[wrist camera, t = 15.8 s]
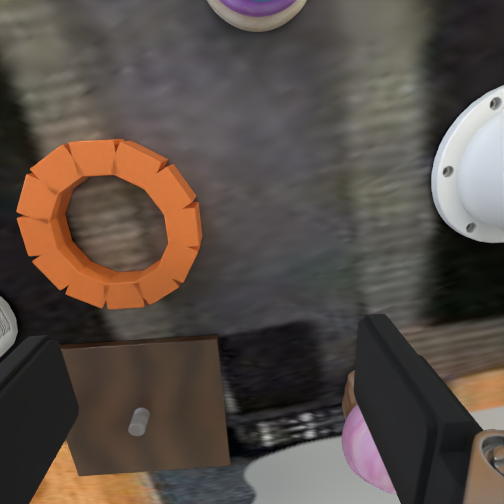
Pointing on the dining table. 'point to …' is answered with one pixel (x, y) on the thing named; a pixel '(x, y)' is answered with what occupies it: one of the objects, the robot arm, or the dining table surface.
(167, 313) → the dining table surface
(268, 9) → the stacking toy
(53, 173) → the ring
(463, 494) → the robot arm
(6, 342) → the supplement can
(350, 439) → the cupcake
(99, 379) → the board
